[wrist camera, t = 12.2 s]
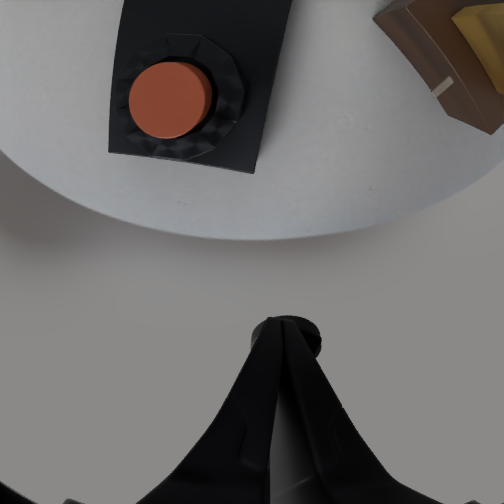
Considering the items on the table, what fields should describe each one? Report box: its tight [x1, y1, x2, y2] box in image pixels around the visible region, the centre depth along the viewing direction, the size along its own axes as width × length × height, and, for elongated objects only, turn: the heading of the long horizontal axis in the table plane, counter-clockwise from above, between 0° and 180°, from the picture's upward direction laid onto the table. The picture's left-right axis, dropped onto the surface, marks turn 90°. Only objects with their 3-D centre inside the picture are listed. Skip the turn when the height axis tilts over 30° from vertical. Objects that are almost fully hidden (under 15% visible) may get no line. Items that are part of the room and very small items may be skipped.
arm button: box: [129, 62, 212, 139], centre depth 12 cm, size 4×4×2 cm
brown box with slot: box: [372, 0, 504, 135], centre depth 10 cm, size 13×8×5 cm, turn 138°
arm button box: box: [108, 0, 292, 174], centre depth 13 cm, size 12×9×4 cm
